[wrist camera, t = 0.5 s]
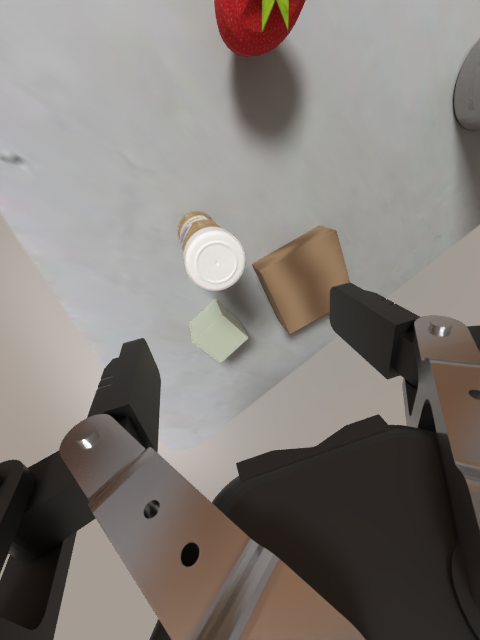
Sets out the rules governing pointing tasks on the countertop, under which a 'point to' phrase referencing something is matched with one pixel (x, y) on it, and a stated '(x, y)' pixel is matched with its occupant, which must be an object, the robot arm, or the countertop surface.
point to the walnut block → (303, 277)
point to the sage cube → (217, 331)
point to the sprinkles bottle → (210, 252)
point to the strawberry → (255, 23)
